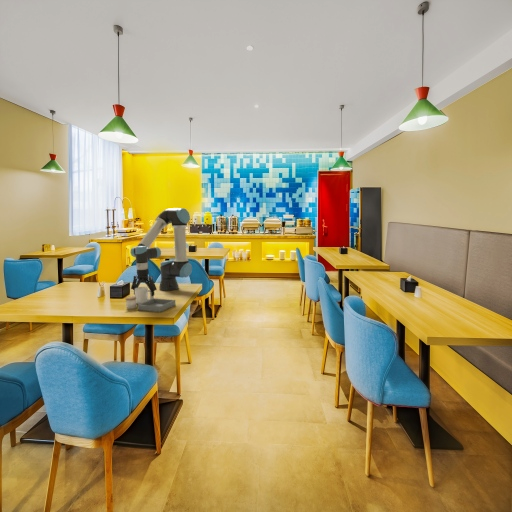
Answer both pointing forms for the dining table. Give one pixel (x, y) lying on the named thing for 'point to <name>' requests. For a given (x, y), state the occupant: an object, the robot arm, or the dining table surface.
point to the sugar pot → (131, 302)
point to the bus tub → (156, 305)
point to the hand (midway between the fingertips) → (144, 299)
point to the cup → (141, 294)
